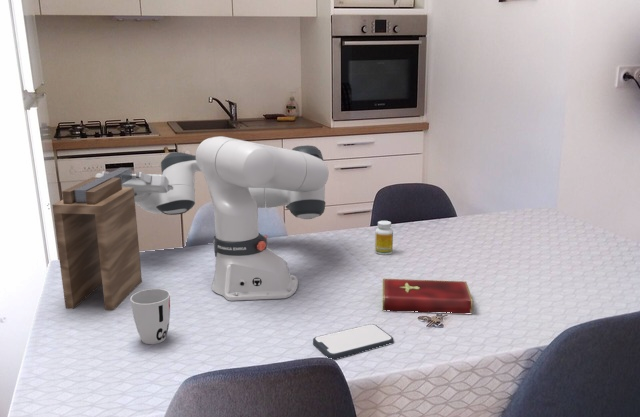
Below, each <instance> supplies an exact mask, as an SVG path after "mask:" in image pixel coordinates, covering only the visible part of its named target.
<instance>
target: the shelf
mask: <svg viewBox="0 0 640 417" xmlns="http://www.w3.org/2000/svg"><path fill="white" fill-rule="evenodd" d="M98 178H100V177H95V176H93V177H90V178H88V179H86V180H83V181H81V182H79V183H77V184H75V185H73V186H70V187H69V188H67V189H64V190H62V193H61V194H62V200H60V201H58V202H56V203H55V202H54V203H53V204H52V212H53V213H52V214H53V220H54V227H55V237H56V243H57V251H58V260H59V268H60V275H61V283H62V284H61V285H62V290H63V296H64V306H65V307H64V308H65V309H71V310H72V309H75V308H76V307H77V306H78V305H80V304H81V303H82V302H83V301H84V300H86V299H87V298H88V296H90V295H91V294H92V293H93V292H94V291H96V290H97V289H98V288H99V287H101V286H102V292H103V293H102V294H103V301H104V309H105V311H114V310H115V309H116V308H117V307H118V306H119V305H120V304H121V303H122V302H123V301H125V299H126V298H127V297H128V296H129V295H130V294H131V293H132V292H134V290H135V289H136V288H137V287H138V286H139V285H140V284H141V283H142V282H143V278H142V266H141V256H140V247H139V246H140V244H139V233H138V232H139V231H138V220H137V212H136V211H137V210H136V204H135V198H134V188H124V187H122V183H121V178H112V179H110V180H108V181H106V182H104V183H102V184H100V185H98V186H96V187H94V188H92V189H90V190H88V191H86V192H85V193H86V202H87V203H75V197H74V190H75V189H77V188H79V187H81V186H83V185H85V184H88V183H90V182H92V181H94V180H96V179H98Z"/></svg>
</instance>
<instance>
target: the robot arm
mask: <svg viewBox="0 0 640 417" xmlns="http://www.w3.org/2000/svg"><path fill="white" fill-rule="evenodd" d="M160 168H161V169H160V170H161V174H154V173H153V174H150V173H147V174H146V173H144V172H142V171H136V172H135V173H132V179H130V180H129V181H127V182H125V183H123V184H122V187H124V188H134V198H135V206H138V207H139V208H141V209H142V210H143V211H146V212H148V213H151V214H154V215H162V214H164V215H169V216H173V215H174V216H175V215H183V214H186V213H187V212H189V211H190V210H191V209H192V208H193V207H194V206H195V204H196V189H195V188H196V187H195V182H196V181H195V180H196V179H195V174H196V172H201V173H202V174H203V176H204V179H205V182H206V185H207V188H208V191H209V194H210V198H211V201H212V202H211V203H212V206H213V214H214V228H215V230H214V231H215V235H214V236H213V237H214V238H213V251H214V256H215V265H214V266H215V268H214V269H215V270H214V277H213V282H212V286H211V289H212V291H213V292H214V293H216V294H218V295H220V296H222V297H224V298H225V300H227V301H230V302H231V301H232V302H233V301H254V300H256V301H257V300H276V299H277V300H278V299H287V298H289V297H292V296H293V295H294V294H295V293H296V291H297V290H298V287H299V282H298V278H297V276H295V275H294V274H290V271H289V266H288V263H287V261H286V260H285V259H284V258H283V257H282V256H280V255H278V254H276V253H275V252H274V251H273V250H271V249H270V248H268V242H267V240H268V238H267V237H268V236H267V234H265V235H262V234H261V233H260V232H259V231H260V230H259V228H260V227H259V209H269V208H270V209H271V208H278V207H283V206H285V208H286V209H287V210H289V211H290V214H292V215H293V216H294V217H295V218H298V219H301V220H313V219H315V218H318V217H320V216H322V215H323V214H324V212H325V210H326V201H325V200H326V184H327V182H328V180H329V168H328V165H327V164H326V162H325V161H324V157H323V154H322V151H321V150H320V148H318V147H317V146H314V145H310V144H302V145H298V146H296V147H293V148H292V149H290V148H285V147H278V146H273V145H269V144H267V145H266V144H262V143H257V142H251V141H247V140H243V139H238V138H234V137H233V138H232V137H227V136H222V135H221V136H212V137H209V138H206V139H204V140H203V141H201V142H200V144H199V145H198V147H197V148H196V152H195V155H193V154H189V153H185V152H178V151H175V152H169V153H168V154H167V155H166V156H165V157H164V158H163V159H162V160H161V162H160ZM108 173H110V171H106V170H105V171H103V170H102V172H101V173H99V172H98V173H96V174H95V175H94V177H102V176H104V175H106V174H108Z"/></svg>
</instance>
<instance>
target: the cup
mask: <svg viewBox="0 0 640 417" xmlns="http://www.w3.org/2000/svg"><path fill="white" fill-rule="evenodd" d="M130 306H131V311H132V316H133V320H134V323H135V324H134V325H135V327H136V330H137V333H138V335H139V338H140V339H141V341H142V343H144V345H145V344H146V345H157V344H160V343H162V342H164V341H165V340H166V339H167V336H168V330H169V327H170V318H171V293H170V292H169V290H167V289H164V288H162V289H161V288H148V289H143V290H140V291H137V292H135V293H133V294H132V295H131V296H130Z"/></svg>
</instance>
